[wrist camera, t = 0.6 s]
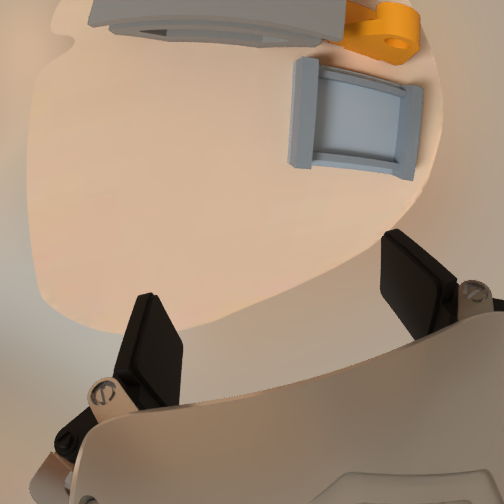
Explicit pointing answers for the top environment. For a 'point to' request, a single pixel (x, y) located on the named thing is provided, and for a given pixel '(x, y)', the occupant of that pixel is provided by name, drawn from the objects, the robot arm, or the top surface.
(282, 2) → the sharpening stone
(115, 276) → the top surface
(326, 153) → the grey tray
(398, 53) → the bracket
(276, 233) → the top surface
